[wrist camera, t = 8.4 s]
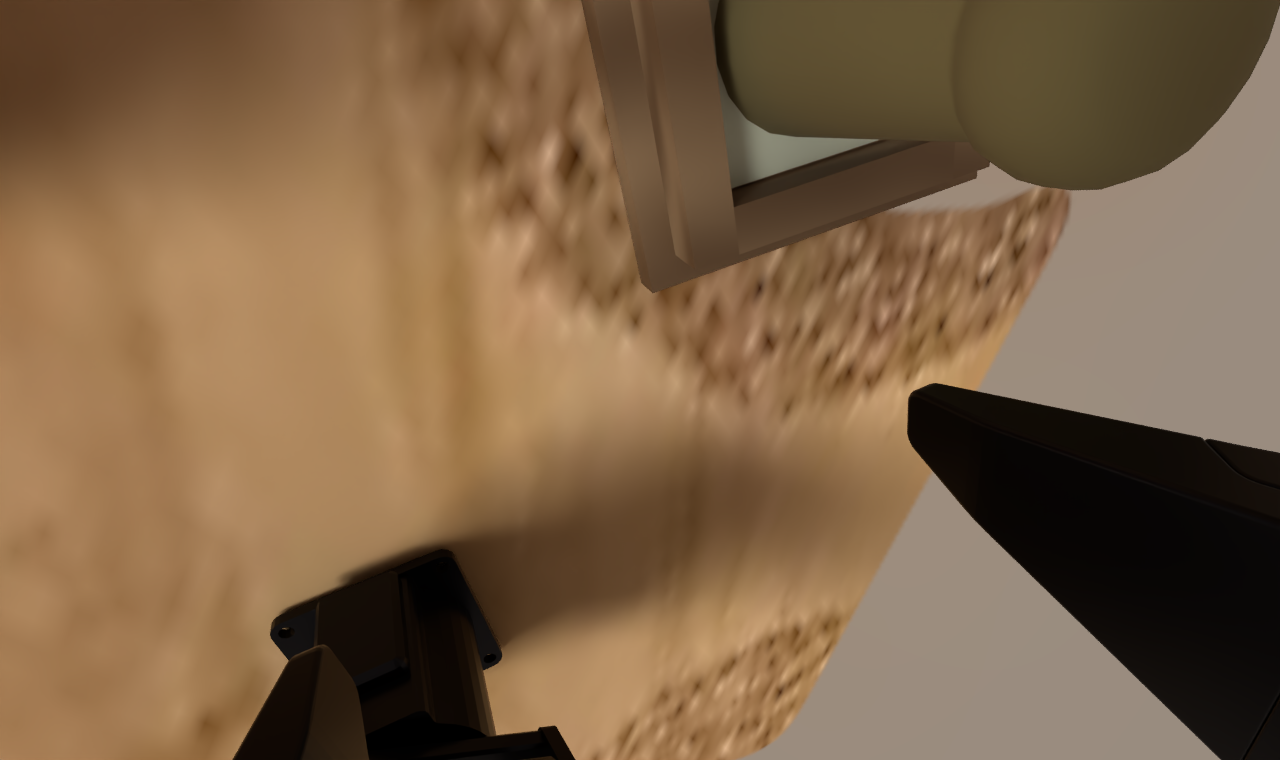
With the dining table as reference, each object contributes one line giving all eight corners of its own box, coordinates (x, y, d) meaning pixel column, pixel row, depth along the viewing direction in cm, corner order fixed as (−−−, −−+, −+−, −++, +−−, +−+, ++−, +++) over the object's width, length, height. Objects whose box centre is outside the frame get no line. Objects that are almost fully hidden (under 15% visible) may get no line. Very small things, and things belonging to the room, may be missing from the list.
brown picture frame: (956, 172, 25) (1009, 186, 23) (641, 283, 22) (671, 309, 20) (986, -299, 18) (1067, -338, 16) (534, -221, 15) (563, -257, 13)
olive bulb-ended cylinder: (772, 177, 21) (1089, 301, 12) (675, -3, 18) (1016, -17, 9) (920, 51, 21) (1350, 80, 12) (850, -156, 17) (1385, -333, 8)
